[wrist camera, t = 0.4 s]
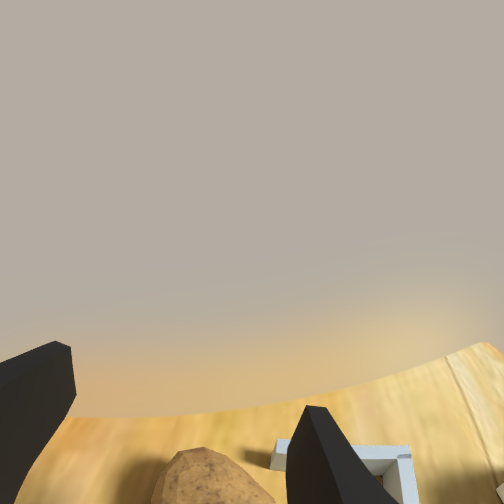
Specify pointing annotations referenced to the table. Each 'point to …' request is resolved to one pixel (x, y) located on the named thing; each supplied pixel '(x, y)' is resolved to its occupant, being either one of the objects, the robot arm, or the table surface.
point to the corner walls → (373, 467)
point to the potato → (206, 481)
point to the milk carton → (501, 491)
